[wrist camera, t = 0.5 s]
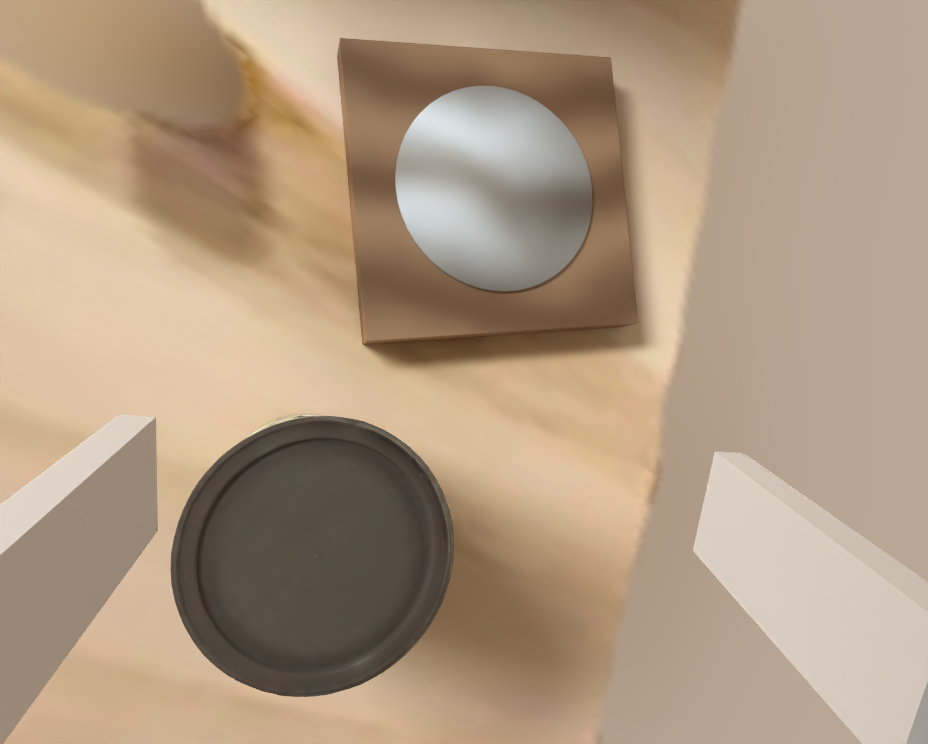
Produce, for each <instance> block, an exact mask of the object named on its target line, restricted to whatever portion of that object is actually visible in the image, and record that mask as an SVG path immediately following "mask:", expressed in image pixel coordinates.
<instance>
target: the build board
mask: <svg viewBox="0 0 928 744" xmlns="http://www.w3.org/2000/svg"><path fill="white" fill-rule="evenodd" d="M337 58H338V70H339V81H340V92H341V104H342V115H343V126H344V138H345V149H346V161H347V172H348V183H349V195H350V206H351V218H352V229H353V240H354V252H355V263H356V275H357V286H358V297H359V309H360V320H361V331H362V343H363V344H374V343H389V342H403V341H418V340H433V339H448V338H463V337H478V336H493V335H508V334H523V333H537V332H552V331H567V330H582V329H597V328H612V327H623V326H628V325H632V324H636V323H638V321H637V311H636V301H635V291H634V281H633V271H632V262H631V252H630V242H629V232H628V222H627V212H626V202H625V193H624V183H623V173H622V163H621V153H620V143H619V133H618V124H617V114H616V104H615V94H614V84H613V74H612V65H611V58H608V57H594V56H580V55H567V54H553V53H539V52H525V51H511V50H497V49H483V48H470V47H456V46H442V45H428V44H414V43H400V42H386V41H373V40H359V39H345V38H340V42H339V49H338V56H337Z"/></svg>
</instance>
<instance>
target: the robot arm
mask: <svg viewBox="0 0 928 744" xmlns="http://www.w3.org/2000/svg"><path fill="white" fill-rule="evenodd" d="M157 531H158V519H157V460H156V417H147V416H131V415H118V416H116V417H115V418H114V419H112V420H111V421H110V422H108V423H107V424H106V425H104V426H103V427H102V428H100V429H99V430H98V431H96V432H95V433H94V434H92V435H91V436H90V437H89V438H87V439H86V440H85V441H83V442H82V443H81V444H79V445H78V446H77V447H75V448H74V449H73V450H71V451H70V452H69V453H67V454H66V455H65V456H63V457H62V458H61V459H60V460H58V461H57V462H56V463H54V464H53V465H52V466H50V467H49V468H48V469H46V470H45V471H44V472H42V473H41V474H40V475H38V476H37V477H36V478H34V479H33V480H32V481H30V482H29V483H28V484H27V485H25V486H24V487H23V488H21V489H20V490H19V491H17V492H16V493H15V494H13V495H12V496H11V497H9V498H8V499H7V500H5V501H4V502H3V503H1V504H0V744H3V743H4V742H5V740H6V739H7V737H8V736H9V735H10V733H11V732H12V731H13V729H14V728H15V726H16V725H17V724H18V722H19V721H20V720H21V718H22V717H23V715H24V714H25V713H26V711H27V710H28V709H29V707H30V706H31V704H32V703H33V702H34V700H35V699H36V698H37V696H38V695H39V693H40V692H41V691H42V689H43V688H44V686H45V685H46V684H47V682H48V681H49V680H50V678H51V677H52V675H53V674H54V673H55V671H56V670H57V669H58V667H59V666H60V664H61V663H62V662H63V660H64V659H65V658H66V656H67V655H68V653H69V652H70V651H71V649H72V648H73V647H74V645H75V644H76V642H77V641H78V640H79V638H80V637H81V635H82V634H83V633H84V631H85V630H86V629H87V627H88V626H89V624H90V623H91V622H92V620H93V619H94V618H95V616H96V615H97V613H98V612H99V611H100V609H101V608H102V607H103V605H104V604H105V602H106V601H107V600H108V598H109V597H110V596H111V594H112V593H113V591H114V590H115V589H116V587H117V586H118V584H119V583H120V582H121V580H122V579H123V578H124V576H125V575H126V573H127V572H128V571H129V569H130V568H131V567H132V565H133V564H134V562H135V561H136V560H137V558H138V557H139V556H140V554H141V553H142V551H143V550H144V549H145V547H146V546H147V545H148V543H149V542H150V540H151V539H152V538H153V536H154V535H155V533H156V532H157ZM693 551H694V553H696V555H697V556H698V557H699V558H700V559H701V561H702V562H703V563H704V564H705V565H706V566H707V567H708V568H709V570H710V571H711V572H712V573H713V574H714V575H715V576H716V578H717V579H718V580H719V581H720V582H721V583H722V584H723V586H724V587H725V588H726V589H727V590H728V591H729V592H730V593H731V595H732V596H733V597H734V598H735V599H736V600H737V601H738V603H739V604H740V605H741V606H742V607H743V608H744V610H745V611H746V612H747V613H748V614H749V615H750V616H751V618H752V619H753V620H754V621H755V622H756V623H757V624H758V625H759V627H760V628H761V629H762V630H763V631H764V632H765V634H766V635H767V636H768V637H769V638H770V639H771V640H772V642H773V643H774V644H775V645H776V646H777V647H778V648H779V649H780V651H781V652H782V653H783V654H784V655H785V656H786V657H787V659H788V660H789V661H790V662H791V663H792V664H793V665H794V666H795V668H796V669H797V670H798V671H799V672H800V673H801V674H802V676H803V677H804V678H805V679H806V680H807V681H808V683H809V684H810V685H811V686H812V687H813V688H814V689H815V691H816V692H817V693H818V694H819V695H820V696H821V697H822V698H823V700H824V701H825V702H826V703H827V704H828V705H829V706H830V708H831V709H832V710H833V711H834V712H835V713H836V714H837V715H838V717H839V718H840V719H841V720H842V721H843V723H844V724H845V725H846V726H847V727H848V728H849V729H850V730H851V732H852V733H853V734H854V735H855V736H856V737H857V738H858V740H859V741H860V742H861V743H862V744H928V582H927V581H926V580H924V579H923V578H921V577H920V576H918V575H917V574H915V573H914V572H913V571H911V570H910V569H908V568H907V567H906V566H904V565H903V564H901V563H900V562H898V561H897V560H896V559H894V558H893V557H891V556H890V555H888V554H887V553H886V552H884V551H883V550H881V549H880V548H878V547H877V546H876V545H874V544H872V543H871V542H870V541H868V540H867V539H865V538H864V537H863V536H861V535H860V534H858V533H857V532H856V531H854V530H853V529H851V528H850V527H848V526H847V525H845V524H844V523H843V522H841V521H840V520H838V519H837V518H836V517H834V516H832V515H831V514H830V513H828V512H827V511H826V510H824V509H822V508H821V507H820V506H818V505H817V504H815V503H814V502H813V501H811V500H810V499H808V498H807V497H805V496H804V495H803V494H801V493H800V492H798V491H797V490H795V489H794V488H793V487H791V486H790V485H788V484H787V483H785V482H784V481H783V480H781V479H780V478H778V477H777V476H775V475H774V474H773V473H771V472H770V471H768V470H767V469H765V468H764V467H762V466H761V465H760V464H758V463H757V462H755V461H754V460H753V459H751V458H750V457H748V456H747V455H745V454H744V453H731V452H715V454H714V458H713V463H712V467H711V472H710V477H709V481H708V485H707V490H706V495H705V499H704V503H703V508H702V512H701V518H700V522H699V526H698V530H697V535H696V540H695V544H694V548H693Z"/></svg>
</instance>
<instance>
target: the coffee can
mask: <svg viewBox="0 0 928 744" xmlns="http://www.w3.org/2000/svg"><path fill="white" fill-rule="evenodd" d="M453 549H454V541H453V528H452V521H451V516H450V512H449V508H448V505H447V503H446V500H445V497H444V494H443V492H442V490H441V488H440V486H439V484H438V482H437V480H436V478H435V477H434V475H433V474H432V472H431V471H430V469H429V468H428V466H427V465H426V464H425V463H424V461H423V460H422V459H421V458H420V457H419V456H418V455H417V454H416V453H415V452H414V451H413V450H412V449H411V448H410V447H409V446H407V445H406V444H405V443H403V442H402V441H401V440H399V439H398V438H396V437H395V436H393V435H392V434H390V433H388V432H387V431H385V430H383V429H381V428H378V427H376V426H374V425H371V424H369V423H366V422H363V421H359V420H354V419H348V418H342V417H334V416H323V415H316V414H301V415H293V416H288V417H284V418H280V419H277V420H275V421H273V422H270V423H268V424H266V425H264V426H262V427H261V428H259V429H258V430H256V431H254V432H253V433H252V434H250V435H249V436H248V437H247V438H246V439H244V440H243V441H241V442H240V443H238V444H237V445H235V446H234V447H233V448H231V449H230V450H229V451H227V452H226V453H225V454H224V455H222V456H221V457H220V458H219V459H218V460H217V461H216V462H215V463H214V464H213V465H212V467H211V468H210V469H209V470H208V471H207V472H206V473H205V474H204V476H203V477H202V478H201V480H200V481H199V482H198V484H197V485H196V487H195V488H194V490H193V491H192V493H191V495H190V497H189V499H188V501H187V503H186V505H185V507H184V509H183V512H182V514H181V517H180V519H179V522H178V525H177V529H176V533H175V536H174V541H173V547H172V552H171V583H172V589H173V594H174V599H175V603H176V606H177V608H178V611H179V614H180V617H181V619H182V622H183V624H184V626H185V628H186V630H187V632H188V633H189V635H190V637H191V639H192V640H193V642H194V643H195V644H196V646H197V647H198V648H199V650H200V651H201V652H202V654H203V655H204V656H205V657H206V658H207V659H208V660H209V661H210V662H211V663H213V664H214V665H215V666H216V667H217V668H218V669H220V670H221V671H222V672H224V673H225V674H227V675H228V676H230V677H232V678H234V679H235V680H237V681H239V682H241V683H243V684H246V685H248V686H250V687H253V688H256V689H258V690H261V691H264V692H269V693H273V694H277V695H281V696H293V697H308V696H320V695H327V694H332V693H335V692H339V691H342V690H346V689H349V688H352V687H355V686H358V685H361V684H363V683H365V682H366V681H368V680H370V679H372V678H374V677H376V676H377V675H379V674H381V673H383V672H384V671H385V670H387V669H388V668H390V667H391V666H392V665H394V664H395V663H396V662H397V661H398V660H400V659H401V658H402V657H403V656H404V655H405V654H406V653H407V652H409V651H410V649H411V648H412V647H413V646H414V645H415V644H416V643H417V642H418V641H419V639H420V638H421V637H422V635H423V634H424V633H425V631H426V630H427V629H428V627H429V625H430V624H431V622H432V620H433V619H434V617H435V615H436V613H437V611H438V610H439V608H440V606H441V603H442V601H443V598H444V596H445V593H446V590H447V586H448V583H449V580H450V575H451V570H452V563H453Z"/></svg>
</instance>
